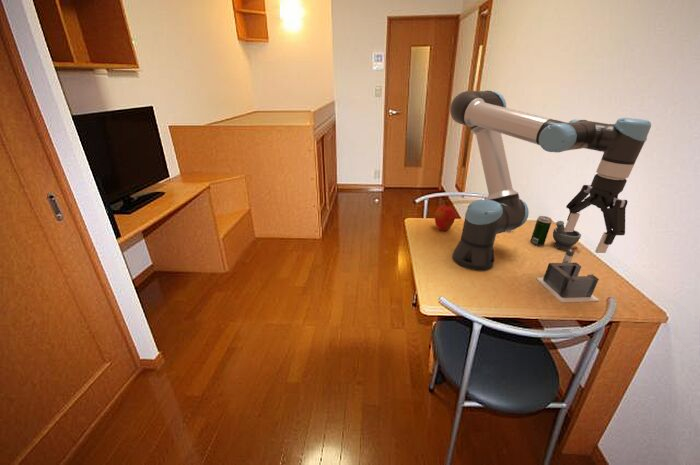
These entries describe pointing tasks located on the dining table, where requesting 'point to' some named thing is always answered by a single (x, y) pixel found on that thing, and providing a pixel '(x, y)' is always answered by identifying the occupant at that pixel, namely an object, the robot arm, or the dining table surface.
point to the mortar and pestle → (564, 237)
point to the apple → (444, 217)
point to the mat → (558, 297)
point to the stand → (568, 256)
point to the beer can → (541, 230)
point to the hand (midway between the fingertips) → (583, 241)
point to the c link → (569, 280)
